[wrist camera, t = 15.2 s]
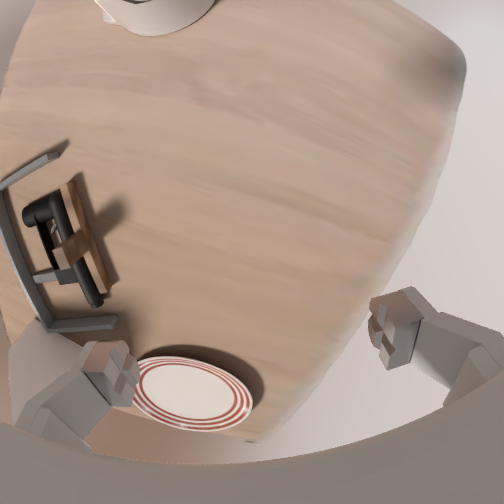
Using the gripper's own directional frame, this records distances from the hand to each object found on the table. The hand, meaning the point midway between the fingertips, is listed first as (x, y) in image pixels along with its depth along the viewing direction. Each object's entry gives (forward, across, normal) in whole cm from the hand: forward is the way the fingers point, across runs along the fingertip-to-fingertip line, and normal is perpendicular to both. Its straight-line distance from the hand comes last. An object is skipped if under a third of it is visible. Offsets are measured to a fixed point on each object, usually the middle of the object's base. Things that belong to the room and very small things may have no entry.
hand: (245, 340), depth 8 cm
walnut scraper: (+29, +25, +2) cm, 39 cm away
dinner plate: (+30, +20, +39) cm, 53 cm away
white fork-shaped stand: (+30, +47, +28) cm, 62 cm away
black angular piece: (+30, +33, +4) cm, 45 cm away
